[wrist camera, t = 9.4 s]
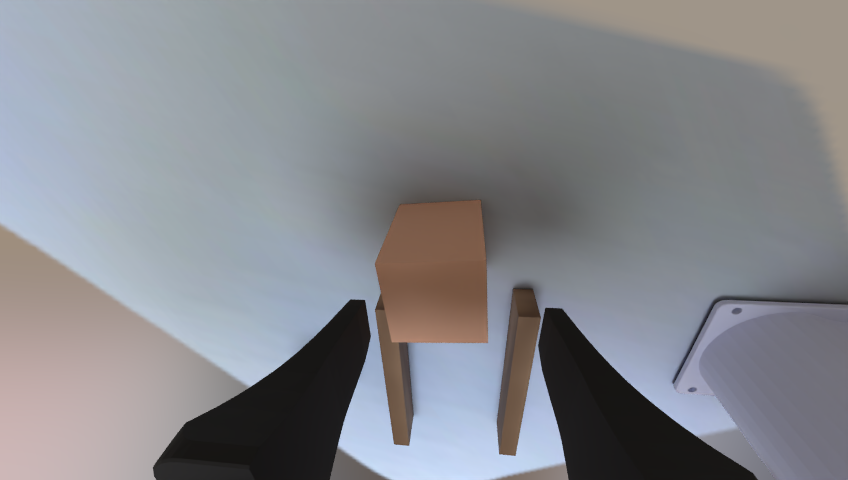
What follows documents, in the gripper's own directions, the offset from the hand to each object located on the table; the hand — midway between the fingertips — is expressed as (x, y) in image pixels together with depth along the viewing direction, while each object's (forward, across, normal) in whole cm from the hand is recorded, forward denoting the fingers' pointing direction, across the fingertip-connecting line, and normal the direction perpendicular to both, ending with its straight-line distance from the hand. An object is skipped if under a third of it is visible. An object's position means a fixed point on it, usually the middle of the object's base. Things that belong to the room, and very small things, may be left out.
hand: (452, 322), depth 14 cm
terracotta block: (+7, +1, 0) cm, 7 cm away
